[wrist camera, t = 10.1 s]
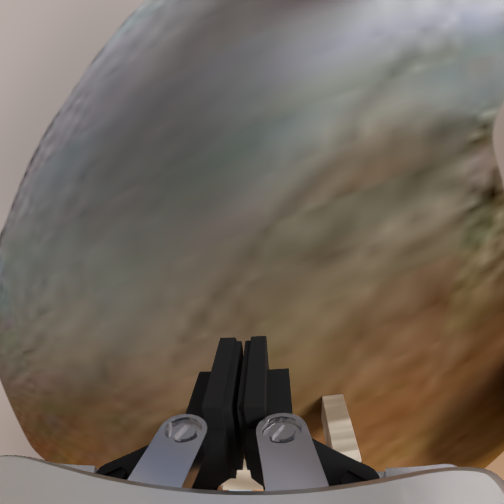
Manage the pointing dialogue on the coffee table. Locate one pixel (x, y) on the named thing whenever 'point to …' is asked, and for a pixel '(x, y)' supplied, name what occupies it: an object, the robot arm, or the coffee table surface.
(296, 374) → the coffee table surface
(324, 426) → the bridge
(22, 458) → the robot arm
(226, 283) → the coffee table surface
